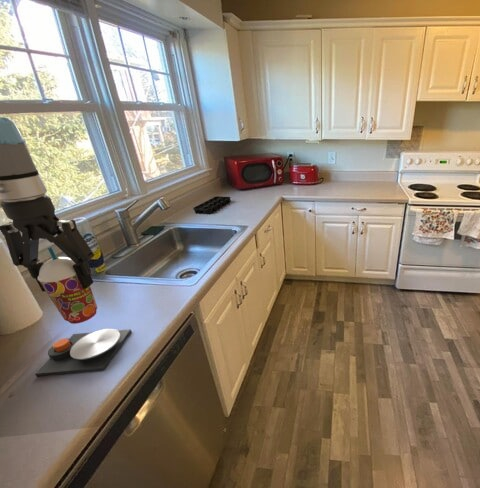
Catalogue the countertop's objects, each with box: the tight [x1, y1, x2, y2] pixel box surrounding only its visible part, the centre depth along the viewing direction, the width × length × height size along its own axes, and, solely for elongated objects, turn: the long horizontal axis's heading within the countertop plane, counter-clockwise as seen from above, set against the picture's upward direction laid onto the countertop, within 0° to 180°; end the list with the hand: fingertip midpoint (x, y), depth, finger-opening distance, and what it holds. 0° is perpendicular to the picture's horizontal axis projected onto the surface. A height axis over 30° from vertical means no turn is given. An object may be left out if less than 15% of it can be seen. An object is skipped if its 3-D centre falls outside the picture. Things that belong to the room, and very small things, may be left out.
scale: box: [34, 329, 132, 378], centre depth 77 cm, size 17×14×3 cm
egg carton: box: [192, 195, 231, 215], centre depth 193 cm, size 18×30×4 cm, turn 1°
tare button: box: [52, 338, 71, 352], centre depth 76 cm, size 3×3×2 cm
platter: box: [70, 328, 120, 360], centre depth 77 cm, size 11×11×1 cm
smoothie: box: [37, 246, 98, 325], centre depth 68 cm, size 8×8×20 cm
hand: (68, 286), depth 69 cm, fingers closed on smoothie, 8 cm apart
